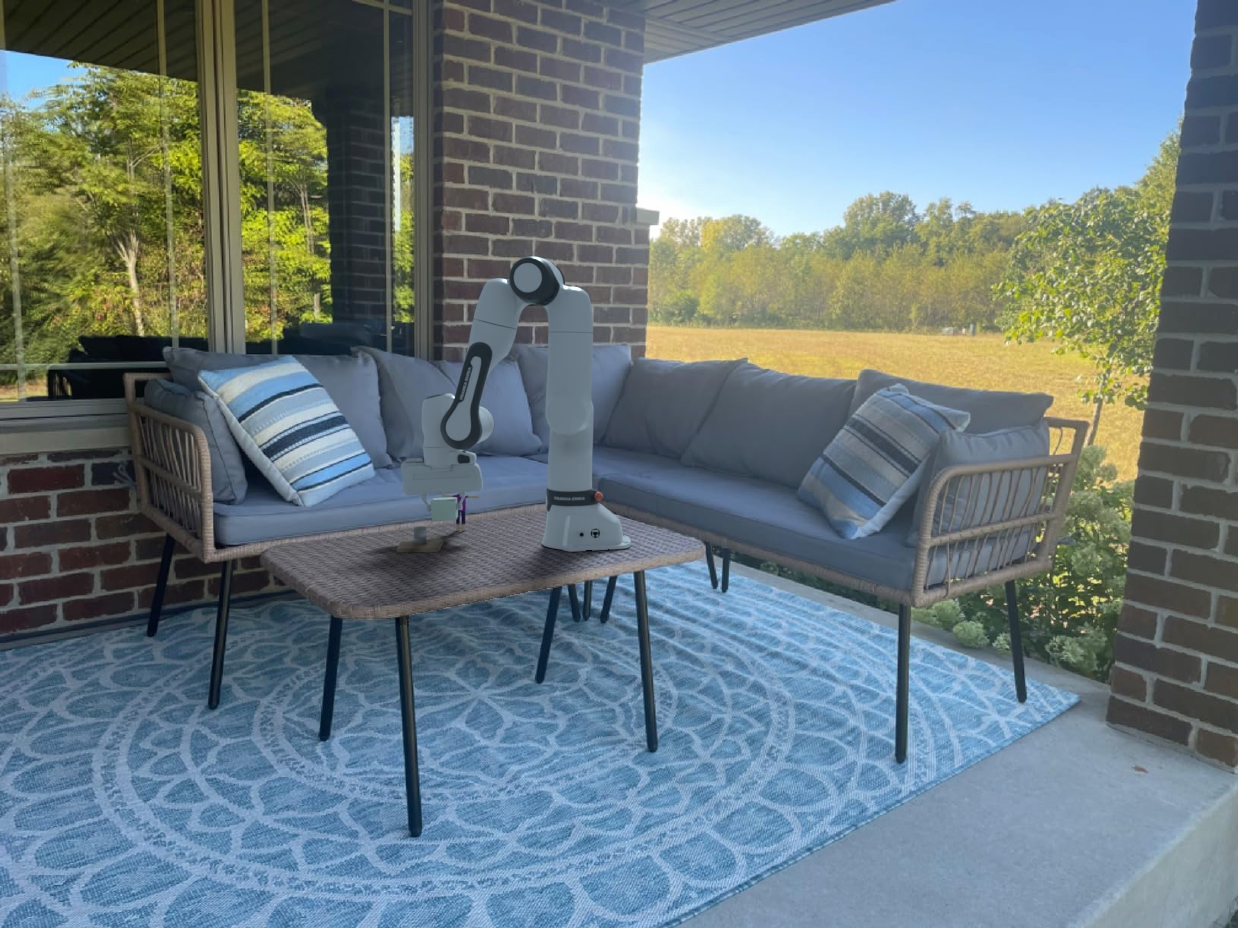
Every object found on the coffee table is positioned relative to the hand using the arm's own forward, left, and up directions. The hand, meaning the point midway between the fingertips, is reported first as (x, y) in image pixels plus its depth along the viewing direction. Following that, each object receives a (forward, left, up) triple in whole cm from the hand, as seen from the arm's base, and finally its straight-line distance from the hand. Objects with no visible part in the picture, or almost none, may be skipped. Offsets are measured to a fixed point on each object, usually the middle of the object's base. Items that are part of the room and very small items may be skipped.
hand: (444, 510), depth 230 cm
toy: (-3, -9, -8) cm, 12 cm away
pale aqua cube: (0, 0, -2) cm, 2 cm away
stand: (+5, +10, -8) cm, 13 cm away
